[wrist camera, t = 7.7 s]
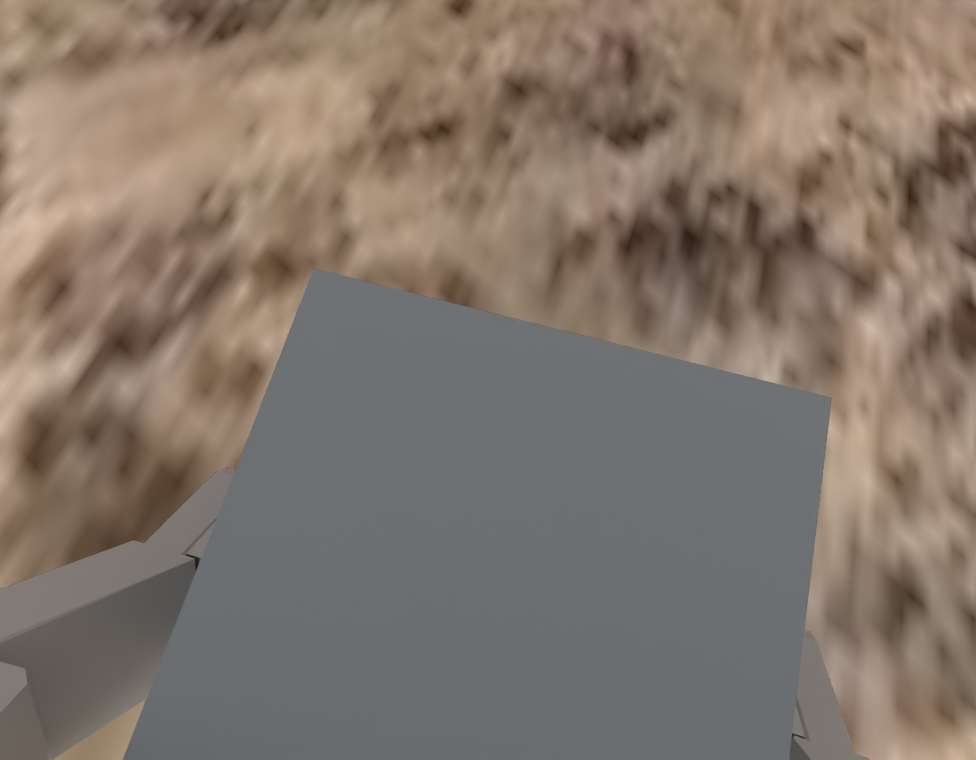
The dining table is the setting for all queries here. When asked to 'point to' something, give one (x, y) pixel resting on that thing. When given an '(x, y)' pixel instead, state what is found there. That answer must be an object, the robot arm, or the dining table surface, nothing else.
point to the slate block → (496, 551)
